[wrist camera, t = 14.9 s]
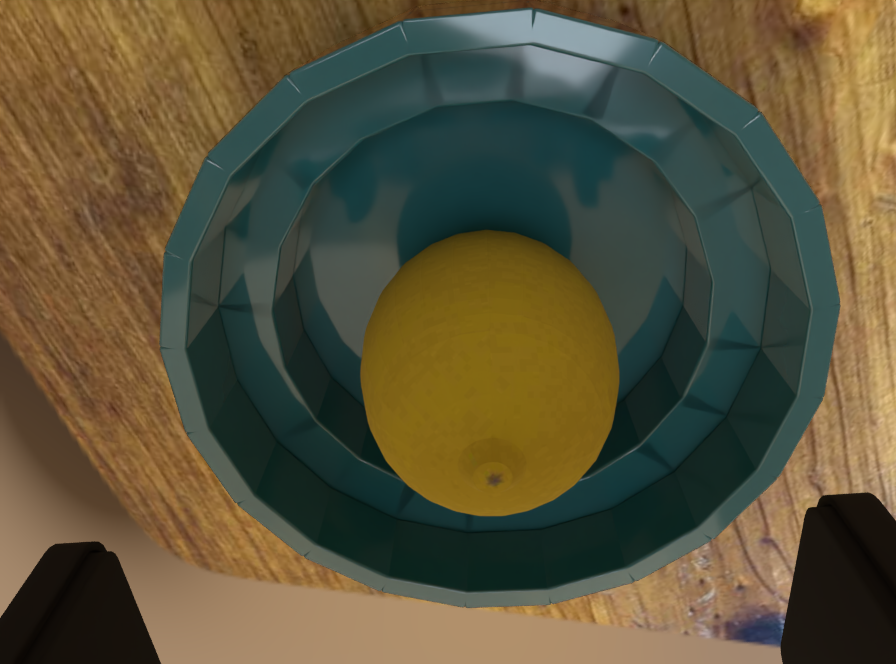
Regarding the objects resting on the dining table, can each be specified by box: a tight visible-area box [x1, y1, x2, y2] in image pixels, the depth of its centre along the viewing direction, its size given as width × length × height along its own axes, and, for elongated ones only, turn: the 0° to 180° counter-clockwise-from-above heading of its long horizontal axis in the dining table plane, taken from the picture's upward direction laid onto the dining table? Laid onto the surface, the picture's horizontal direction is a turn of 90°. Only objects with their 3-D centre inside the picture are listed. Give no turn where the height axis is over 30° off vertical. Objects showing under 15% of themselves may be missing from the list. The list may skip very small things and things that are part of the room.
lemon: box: [360, 230, 619, 516], centre depth 16 cm, size 6×6×8 cm
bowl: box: [159, 0, 840, 608], centre depth 18 cm, size 14×14×5 cm
